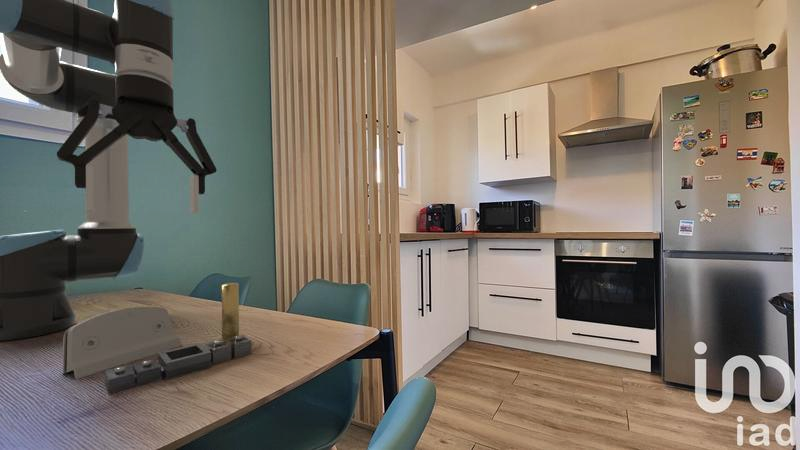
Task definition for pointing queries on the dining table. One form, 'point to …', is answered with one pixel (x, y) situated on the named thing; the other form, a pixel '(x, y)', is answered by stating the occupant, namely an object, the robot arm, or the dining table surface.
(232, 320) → the link pin
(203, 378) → the dining table surface
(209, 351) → the chain end
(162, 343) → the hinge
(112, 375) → the chain end
